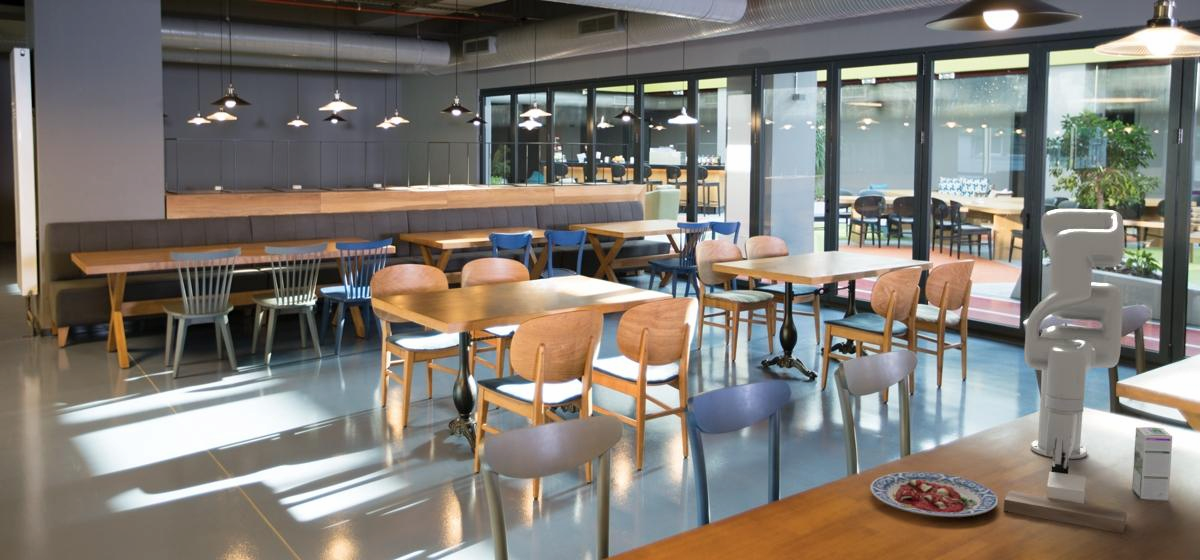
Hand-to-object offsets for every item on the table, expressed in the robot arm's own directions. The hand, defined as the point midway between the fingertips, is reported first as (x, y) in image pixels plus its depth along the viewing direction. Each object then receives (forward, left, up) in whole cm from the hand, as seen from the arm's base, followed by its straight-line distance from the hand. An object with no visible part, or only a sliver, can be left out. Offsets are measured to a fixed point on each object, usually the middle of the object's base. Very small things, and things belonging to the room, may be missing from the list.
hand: (1059, 483), depth 211 cm
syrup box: (-8, +17, -2) cm, 19 cm away
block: (+7, +2, -2) cm, 8 cm away
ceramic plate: (+20, -22, -2) cm, 30 cm away
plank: (+15, +3, -2) cm, 16 cm away
